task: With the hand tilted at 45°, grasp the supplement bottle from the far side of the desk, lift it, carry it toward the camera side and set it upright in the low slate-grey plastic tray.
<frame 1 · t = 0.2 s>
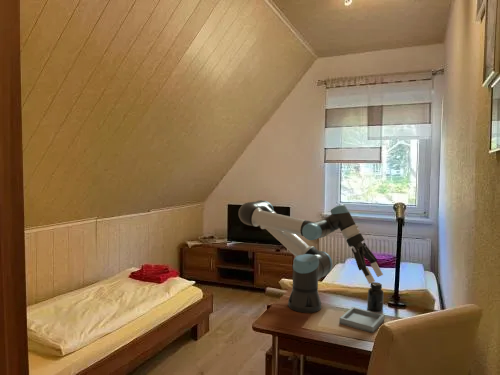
hand: (376, 279, 165), 16 cm above the table, tool tilted 35°, fingers open, 13 cm apart
tray: (362, 321, 156), on the table
supplement bottle: (374, 309, 170), on the table
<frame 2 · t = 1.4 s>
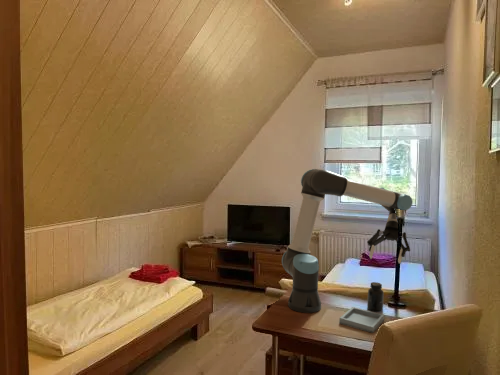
hand: (384, 259, 177), 21 cm above the table, tool tilted 45°, fingers open, 13 cm apart
nothing on the table moved.
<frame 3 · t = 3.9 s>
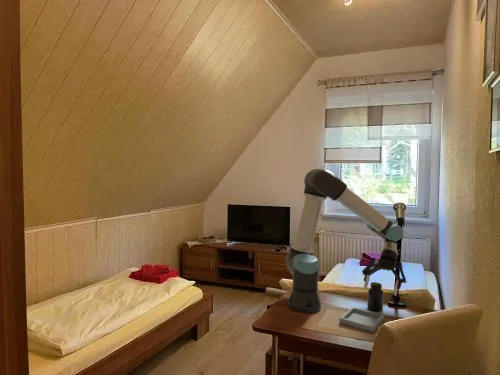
hand: (379, 291, 171), 8 cm above the table, tool tilted 45°, fingers open, 13 cm apart
nothing on the table moved.
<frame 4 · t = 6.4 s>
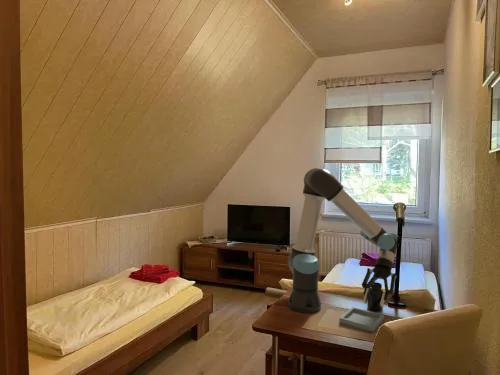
hand: (372, 304, 167), 3 cm above the table, tool tilted 45°, fingers closed on supplement bottle, 7 cm apart
supplement bottle: (374, 309, 170), on the table, touching gripper
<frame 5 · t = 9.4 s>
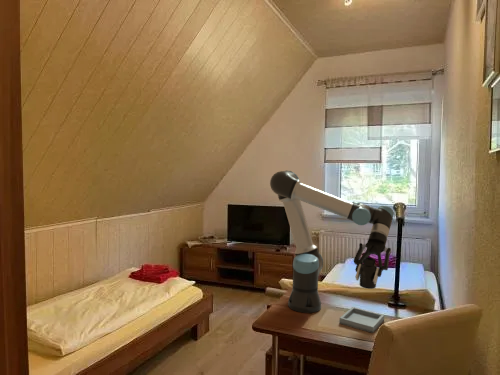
hand: (365, 280, 154), 18 cm above the table, tool tilted 45°, fingers closed on supplement bottle, 7 cm apart
supplement bottle: (367, 286, 157), point 15 cm above the table, touching gripper
when the fingers open (6 cm above the table, at t = 12.8 s): supplement bottle drops 2 cm, resting on tray.
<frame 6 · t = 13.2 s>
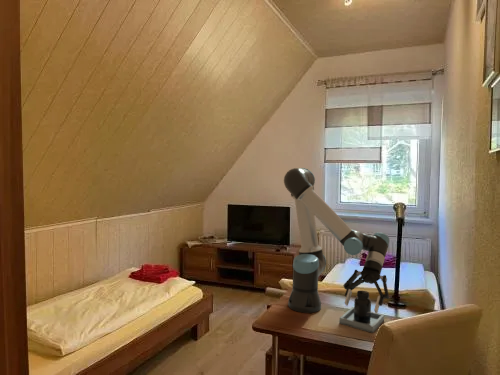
hand: (360, 307, 154), 7 cm above the table, tool tilted 45°, fingers open, 12 cm apart
supplement bottle: (362, 320, 156), point 1 cm above the table, touching tray
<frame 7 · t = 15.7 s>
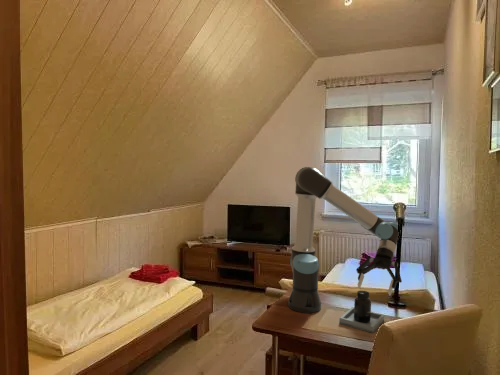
hand: (373, 290, 165), 10 cm above the table, tool tilted 45°, fingers open, 13 cm apart
nothing on the table moved.
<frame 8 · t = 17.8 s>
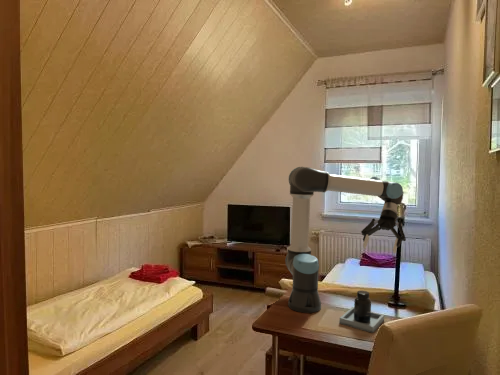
hand: (378, 249, 170), 28 cm above the table, tool tilted 45°, fingers open, 13 cm apart
nothing on the table moved.
at the end: supplement bottle inside the target area on the tray (0.0 cm from its centre), point 0.6 cm above the tray's base; supplement bottle tilted 0°; the gripper is holding nothing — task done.
